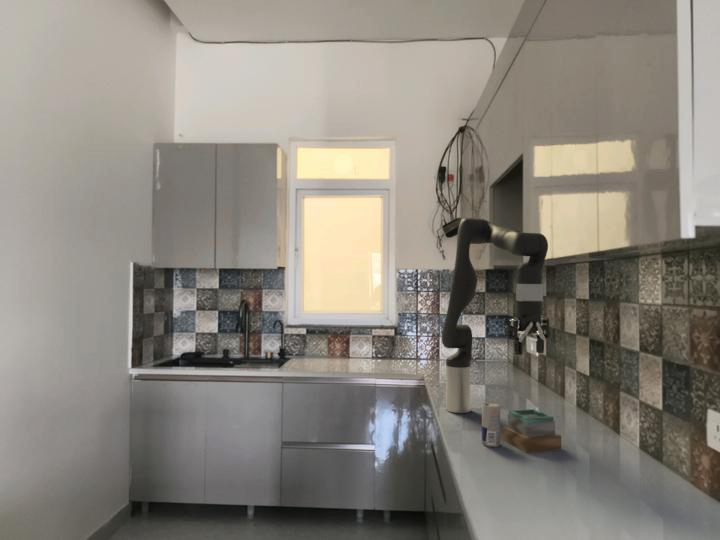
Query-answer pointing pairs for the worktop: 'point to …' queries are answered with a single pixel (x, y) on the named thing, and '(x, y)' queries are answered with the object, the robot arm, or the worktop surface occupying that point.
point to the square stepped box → (531, 431)
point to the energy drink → (491, 424)
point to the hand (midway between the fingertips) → (529, 353)
